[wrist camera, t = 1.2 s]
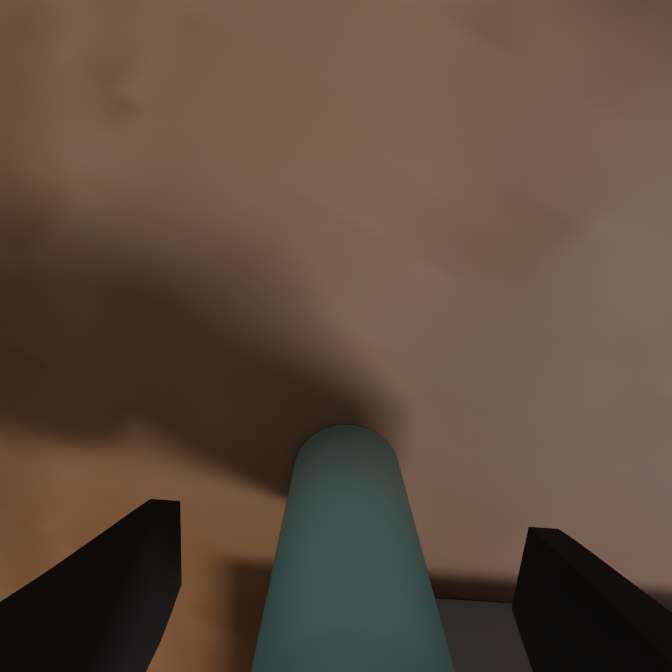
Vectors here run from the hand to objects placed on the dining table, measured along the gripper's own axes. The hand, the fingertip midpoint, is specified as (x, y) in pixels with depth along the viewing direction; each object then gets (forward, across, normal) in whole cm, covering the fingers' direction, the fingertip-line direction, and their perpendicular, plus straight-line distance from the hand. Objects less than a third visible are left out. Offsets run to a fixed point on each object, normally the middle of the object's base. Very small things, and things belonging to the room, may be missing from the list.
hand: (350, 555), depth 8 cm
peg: (+3, 0, 0) cm, 3 cm away
